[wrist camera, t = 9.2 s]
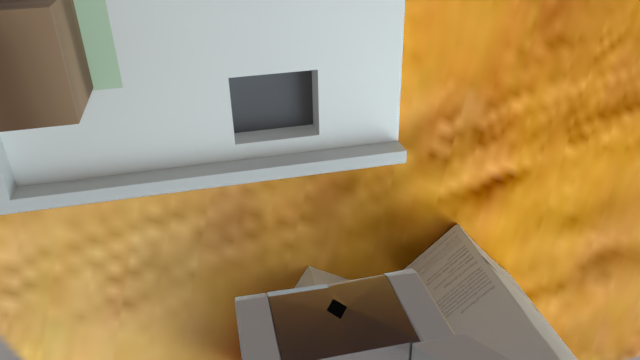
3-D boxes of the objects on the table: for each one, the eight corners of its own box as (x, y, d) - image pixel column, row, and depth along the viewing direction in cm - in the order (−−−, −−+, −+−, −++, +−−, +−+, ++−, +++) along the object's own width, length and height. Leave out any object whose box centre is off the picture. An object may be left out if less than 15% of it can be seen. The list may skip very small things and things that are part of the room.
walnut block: (70, -13, 26) (49, 7, 22) (93, 87, 28) (79, 123, 24) (-46, -6, 25) (-91, 16, 21) (-12, 97, 28) (-46, 136, 23)
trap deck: (399, -178, 28) (426, -185, 25) (386, 139, 36) (405, 162, 33) (-105, -175, 24) (-146, -184, 20) (14, 184, 32) (-2, 215, 29)
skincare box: (509, 272, 45) (642, 427, 32) (454, 319, 46) (561, 487, 33) (452, 218, 41) (579, 370, 28) (392, 271, 42) (488, 441, 29)
